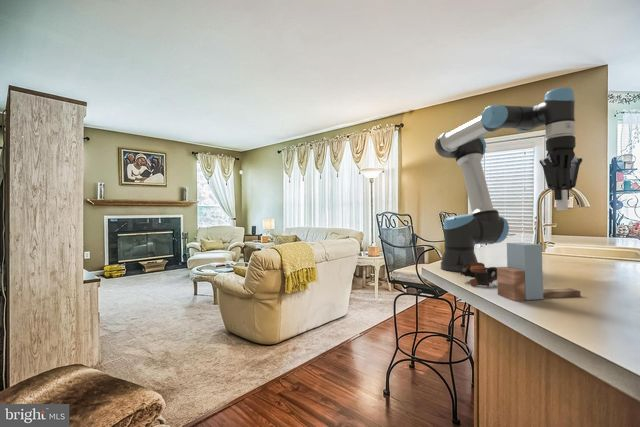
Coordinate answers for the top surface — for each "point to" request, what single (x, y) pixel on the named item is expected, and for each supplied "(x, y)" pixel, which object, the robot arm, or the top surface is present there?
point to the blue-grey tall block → (528, 266)
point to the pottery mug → (479, 273)
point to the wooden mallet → (514, 286)
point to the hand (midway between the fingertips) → (562, 210)
